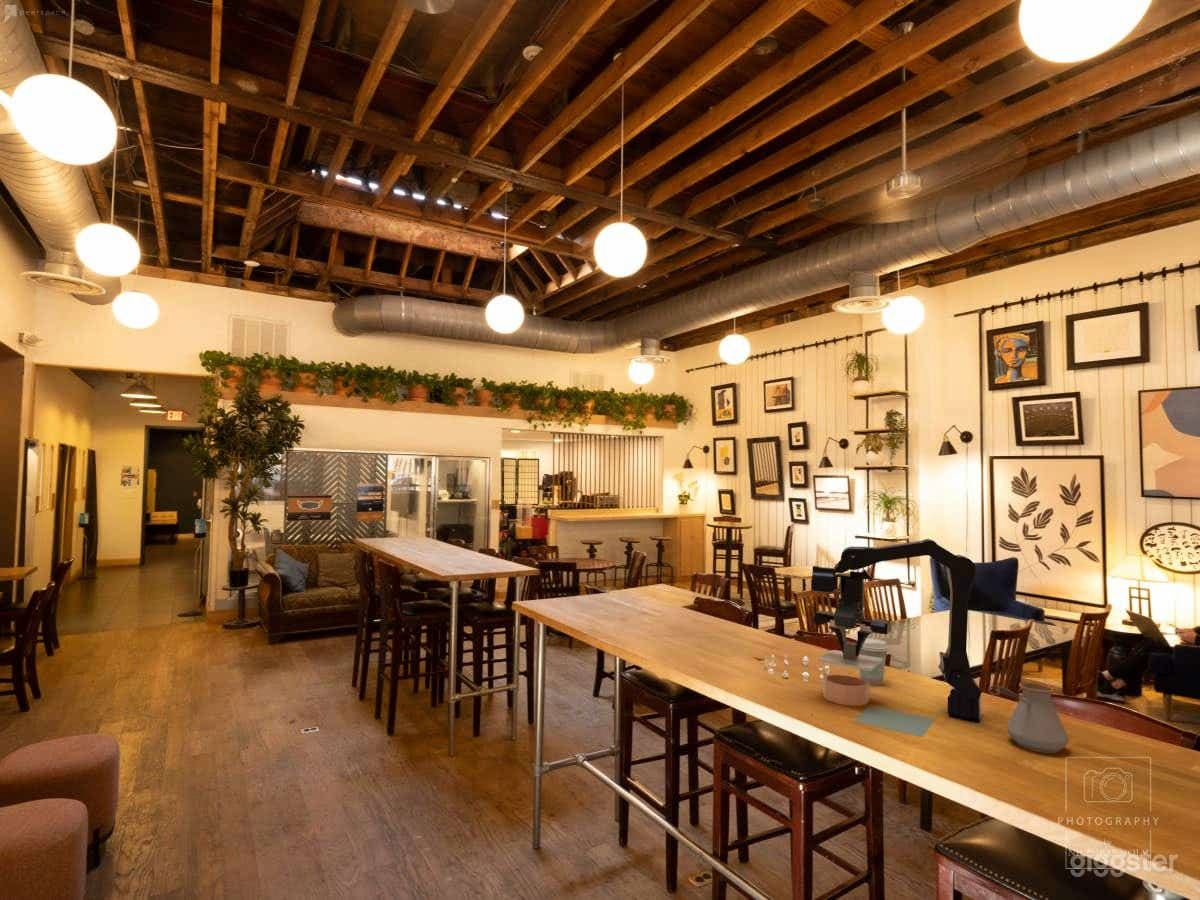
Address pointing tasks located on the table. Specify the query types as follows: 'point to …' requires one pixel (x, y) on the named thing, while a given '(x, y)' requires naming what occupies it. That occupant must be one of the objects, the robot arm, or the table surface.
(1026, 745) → the coffee pot
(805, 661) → the game piece set
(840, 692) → the pink round tub
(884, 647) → the coffee cup
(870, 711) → the mat
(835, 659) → the lid
